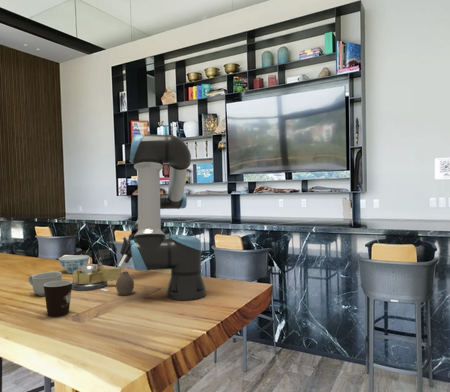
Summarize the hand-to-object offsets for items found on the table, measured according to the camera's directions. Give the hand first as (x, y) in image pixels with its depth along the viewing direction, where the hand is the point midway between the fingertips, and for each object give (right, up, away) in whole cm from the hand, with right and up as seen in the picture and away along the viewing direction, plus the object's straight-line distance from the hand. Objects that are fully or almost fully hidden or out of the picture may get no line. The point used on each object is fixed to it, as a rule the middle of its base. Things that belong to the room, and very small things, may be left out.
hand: (120, 267), depth 161 cm
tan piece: (-8, -4, -7) cm, 11 cm away
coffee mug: (-7, -7, -42) cm, 43 cm away
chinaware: (-32, -8, +26) cm, 42 cm away
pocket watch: (-15, -7, +10) cm, 20 cm away
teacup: (-26, -7, -18) cm, 32 cm away
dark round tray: (-12, -7, -7) cm, 15 cm away
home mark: (-3, -7, -14) cm, 16 cm away
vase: (+8, -7, -20) cm, 22 cm away
